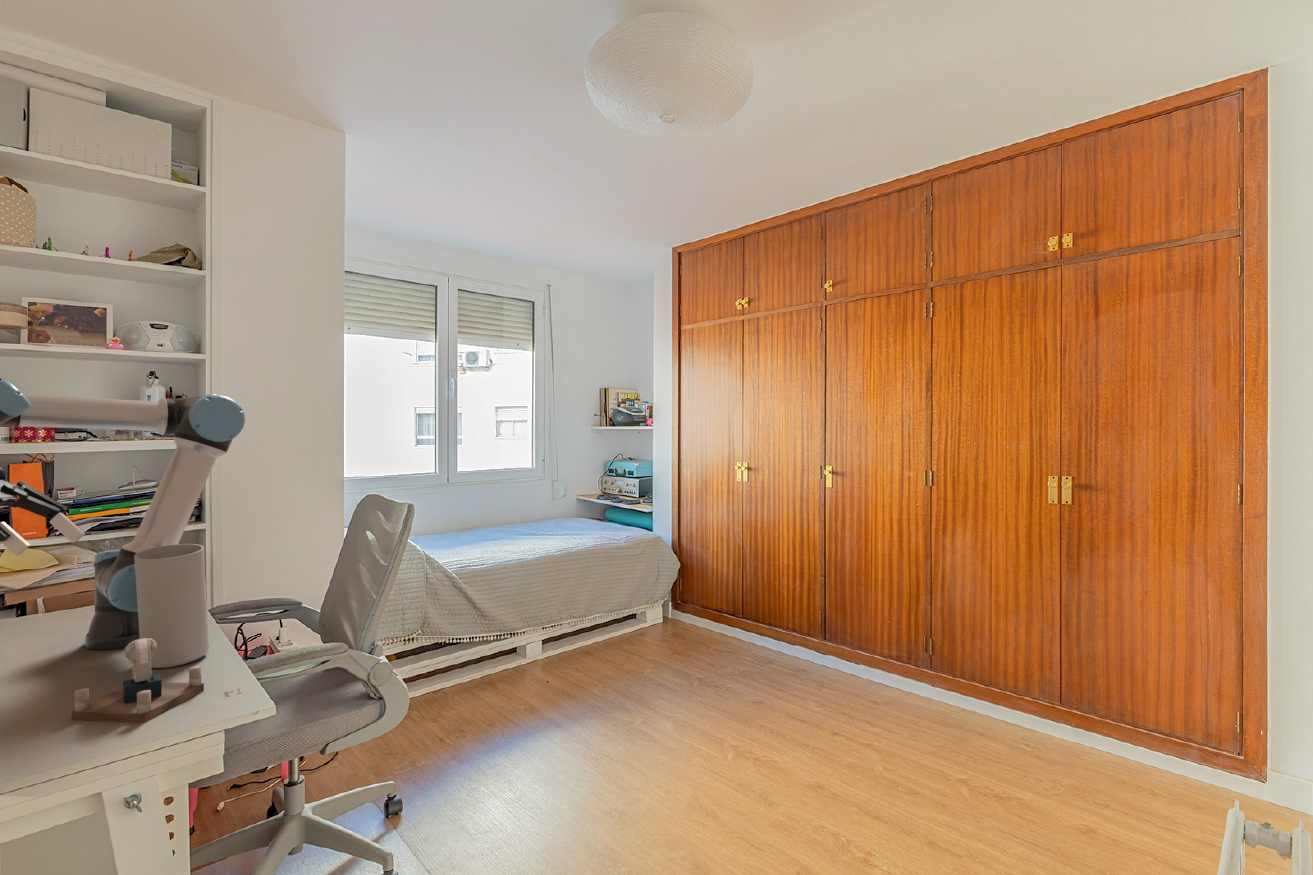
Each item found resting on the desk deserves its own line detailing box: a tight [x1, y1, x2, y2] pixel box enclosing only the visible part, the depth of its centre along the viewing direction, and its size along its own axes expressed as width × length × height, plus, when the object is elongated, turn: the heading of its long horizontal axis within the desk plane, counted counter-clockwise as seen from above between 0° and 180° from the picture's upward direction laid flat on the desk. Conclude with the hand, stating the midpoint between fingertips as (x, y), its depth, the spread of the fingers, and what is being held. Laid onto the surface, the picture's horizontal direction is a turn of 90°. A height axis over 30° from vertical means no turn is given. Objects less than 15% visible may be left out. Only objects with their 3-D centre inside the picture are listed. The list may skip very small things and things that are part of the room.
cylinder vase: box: [134, 543, 210, 669], centre depth 145 cm, size 12×12×25 cm
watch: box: [121, 638, 163, 704], centre depth 122 cm, size 6×8×11 cm
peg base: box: [70, 665, 205, 723], centre depth 122 cm, size 14×14×5 cm
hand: (52, 544), depth 129 cm, fingers open, 13 cm apart
